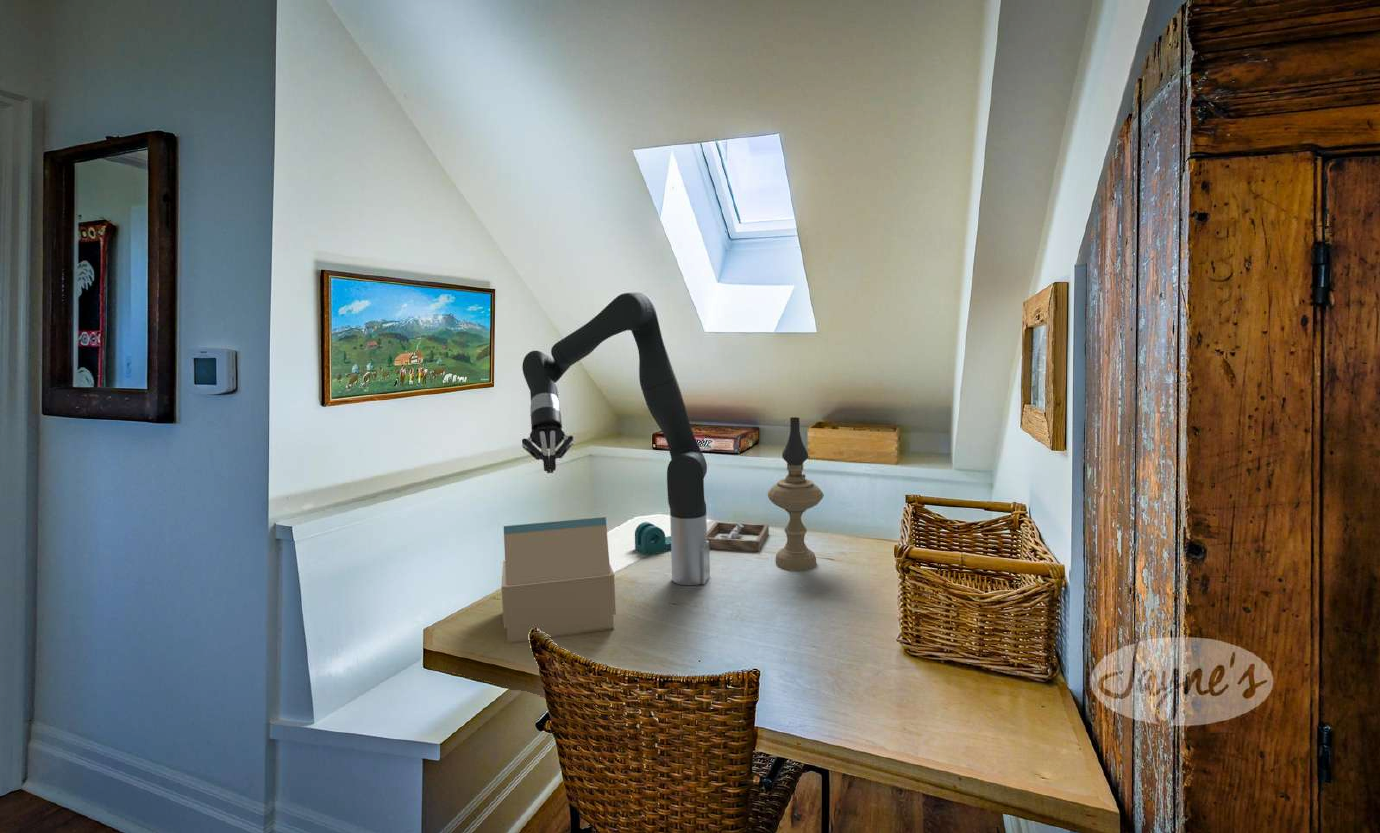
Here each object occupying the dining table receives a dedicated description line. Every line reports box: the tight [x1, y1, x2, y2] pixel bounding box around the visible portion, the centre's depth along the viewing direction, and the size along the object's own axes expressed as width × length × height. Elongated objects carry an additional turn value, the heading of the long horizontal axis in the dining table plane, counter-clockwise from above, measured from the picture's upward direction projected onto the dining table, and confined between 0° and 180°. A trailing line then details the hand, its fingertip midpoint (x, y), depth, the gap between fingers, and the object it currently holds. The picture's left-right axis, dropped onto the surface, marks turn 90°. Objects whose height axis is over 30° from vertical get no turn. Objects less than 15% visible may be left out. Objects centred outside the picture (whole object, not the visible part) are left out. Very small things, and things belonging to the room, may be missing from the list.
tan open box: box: [501, 560, 617, 644], centre depth 149 cm, size 19×23×12 cm
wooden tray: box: [707, 521, 770, 553], centre depth 204 cm, size 17×18×3 cm
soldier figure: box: [719, 522, 744, 539], centre depth 205 cm, size 8×5×12 cm
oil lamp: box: [766, 416, 825, 571], centre depth 180 cm, size 15×15×40 cm
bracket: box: [634, 521, 671, 556], centre depth 199 cm, size 18×7×8 cm, turn 118°
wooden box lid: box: [503, 516, 611, 586], centre depth 140 cm, size 12×21×1 cm
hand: (550, 471), depth 159 cm, fingers closed
